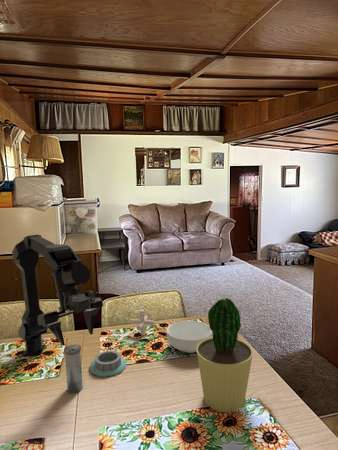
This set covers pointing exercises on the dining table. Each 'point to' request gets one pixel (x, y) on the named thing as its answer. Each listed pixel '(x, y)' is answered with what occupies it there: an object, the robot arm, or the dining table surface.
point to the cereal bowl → (188, 335)
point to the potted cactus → (224, 359)
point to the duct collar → (108, 364)
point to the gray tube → (73, 368)
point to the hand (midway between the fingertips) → (77, 339)
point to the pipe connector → (142, 322)
